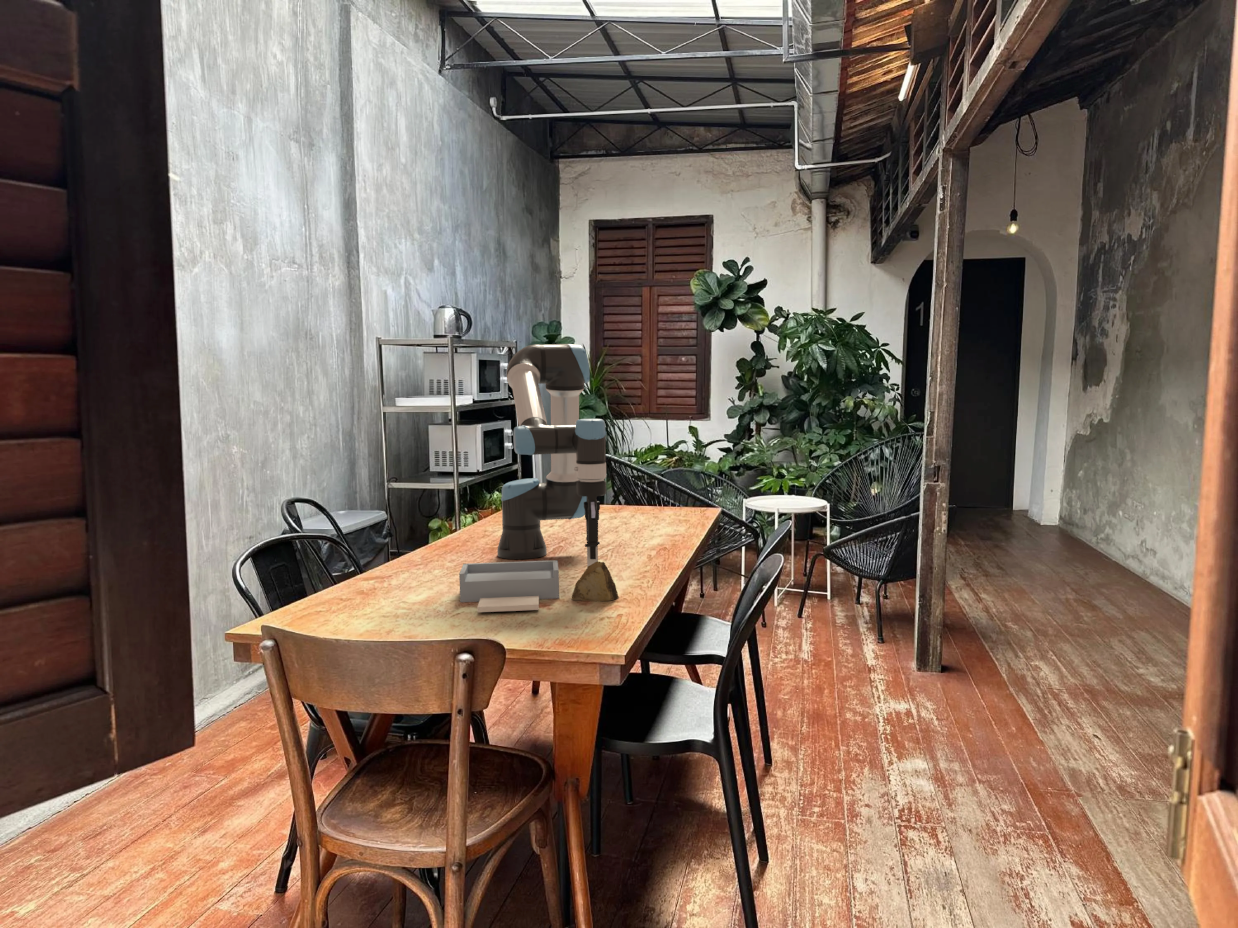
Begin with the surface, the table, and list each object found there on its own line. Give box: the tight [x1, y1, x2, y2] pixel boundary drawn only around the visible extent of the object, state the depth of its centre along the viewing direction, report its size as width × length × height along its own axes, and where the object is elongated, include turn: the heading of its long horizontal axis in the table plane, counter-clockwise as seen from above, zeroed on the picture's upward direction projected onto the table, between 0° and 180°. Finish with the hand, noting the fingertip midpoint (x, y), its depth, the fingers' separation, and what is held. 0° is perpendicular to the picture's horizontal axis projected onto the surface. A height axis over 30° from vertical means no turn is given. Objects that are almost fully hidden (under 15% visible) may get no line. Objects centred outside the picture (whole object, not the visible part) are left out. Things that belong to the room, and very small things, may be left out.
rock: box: [571, 561, 620, 602], centre depth 207 cm, size 11×9×10 cm
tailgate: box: [476, 596, 540, 613], centre depth 199 cm, size 1×14×11 cm
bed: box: [458, 559, 560, 603], centre depth 212 cm, size 12×24×7 cm, turn 96°
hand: (592, 570), depth 218 cm, fingers closed
